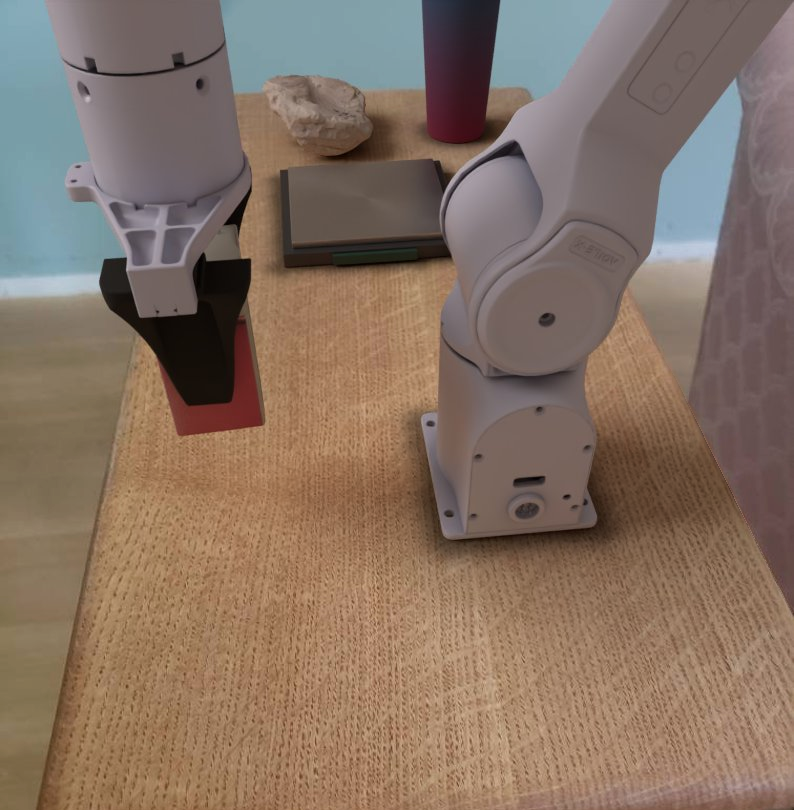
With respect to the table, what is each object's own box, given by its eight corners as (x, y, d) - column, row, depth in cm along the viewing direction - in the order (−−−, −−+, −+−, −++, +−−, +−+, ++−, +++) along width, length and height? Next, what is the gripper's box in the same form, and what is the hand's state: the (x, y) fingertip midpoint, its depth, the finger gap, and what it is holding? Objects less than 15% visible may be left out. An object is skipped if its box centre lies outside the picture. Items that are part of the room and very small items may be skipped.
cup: (465, 155, 72) (476, -54, 61) (401, 134, 75) (400, -69, 64) (509, 126, 76) (526, -76, 65) (446, 108, 79) (452, -89, 67)
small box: (175, 374, 43) (137, 230, 37) (260, 364, 44) (236, 220, 38) (176, 441, 40) (135, 294, 34) (268, 429, 40) (243, 282, 35)
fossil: (349, 72, 77) (386, 62, 68) (355, 151, 79) (392, 151, 71) (253, 77, 74) (279, 67, 66) (263, 159, 77) (289, 159, 68)
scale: (465, 258, 61) (466, 239, 60) (284, 270, 60) (282, 251, 59) (439, 171, 70) (440, 153, 69) (280, 181, 69) (278, 163, 68)
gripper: (59, -16, 35) (139, 281, 45) (-17, 142, 25) (107, 474, 35) (235, -25, 35) (274, 271, 45) (226, 128, 25) (279, 460, 36)
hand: (211, 360), depth 40 cm, fingers closed on small box, 5 cm apart
